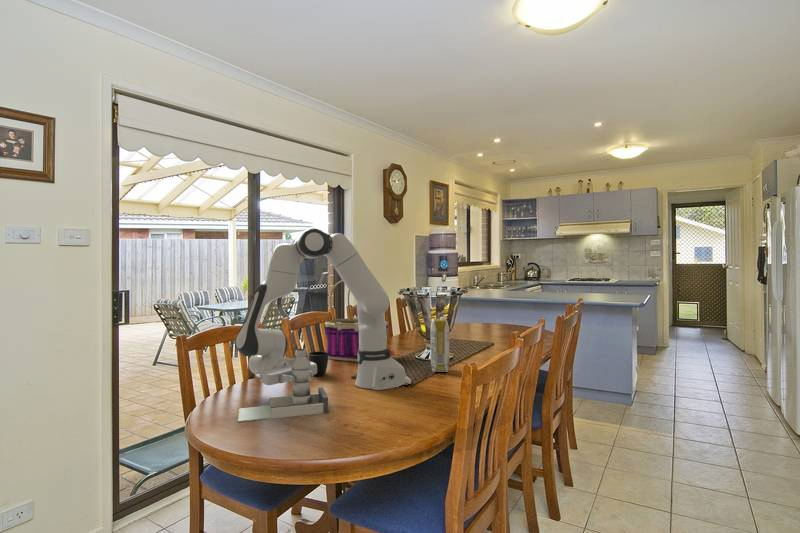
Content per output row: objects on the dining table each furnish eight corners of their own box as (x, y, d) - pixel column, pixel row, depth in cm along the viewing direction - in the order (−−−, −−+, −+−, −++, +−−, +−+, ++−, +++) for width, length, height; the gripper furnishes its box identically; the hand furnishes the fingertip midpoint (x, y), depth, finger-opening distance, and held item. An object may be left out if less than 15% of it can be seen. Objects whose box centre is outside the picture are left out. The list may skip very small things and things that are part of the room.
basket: (392, 355, 233) (391, 277, 231) (376, 364, 214) (375, 279, 213) (338, 351, 244) (337, 276, 243) (319, 359, 226) (318, 278, 224)
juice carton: (449, 373, 197) (449, 318, 196) (431, 373, 197) (431, 318, 197) (447, 368, 206) (447, 315, 206) (430, 368, 207) (430, 315, 206)
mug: (334, 371, 203) (334, 349, 203) (323, 378, 191) (323, 355, 191) (317, 370, 205) (316, 349, 204) (305, 377, 193) (305, 354, 193)
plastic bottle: (307, 412, 150) (306, 352, 149) (288, 411, 151) (287, 351, 150) (314, 406, 156) (314, 348, 155) (296, 405, 157) (295, 347, 157)
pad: (270, 406, 156) (270, 405, 156) (271, 418, 145) (271, 417, 145) (239, 409, 153) (239, 408, 153) (237, 422, 142) (237, 420, 142)
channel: (322, 400, 162) (322, 386, 162) (328, 412, 150) (328, 397, 150) (270, 406, 156) (270, 391, 156) (271, 418, 144) (271, 403, 144)
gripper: (252, 366, 154) (275, 373, 145) (303, 356, 169) (326, 362, 160) (253, 385, 154) (275, 393, 145) (303, 373, 169) (326, 380, 160)
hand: (302, 376), depth 152 cm, fingers closed on plastic bottle, 6 cm apart
